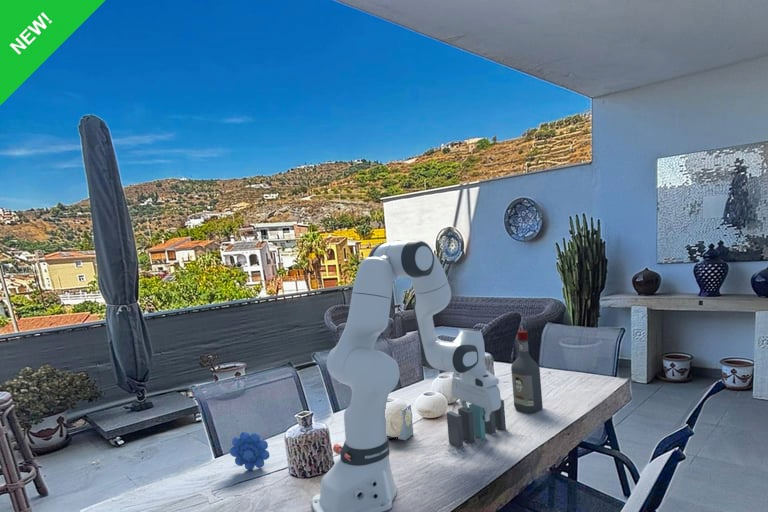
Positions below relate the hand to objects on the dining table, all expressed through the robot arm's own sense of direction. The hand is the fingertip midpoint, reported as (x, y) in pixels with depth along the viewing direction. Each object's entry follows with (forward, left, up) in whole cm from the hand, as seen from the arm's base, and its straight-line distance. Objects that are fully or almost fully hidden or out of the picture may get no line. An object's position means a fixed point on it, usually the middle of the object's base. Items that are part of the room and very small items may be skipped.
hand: (476, 416), depth 138 cm
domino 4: (+5, 0, -7) cm, 8 cm away
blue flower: (-69, +28, -7) cm, 75 cm away
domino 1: (-10, 0, -7) cm, 12 cm away
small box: (-20, +18, -7) cm, 27 cm away
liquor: (+31, +4, -7) cm, 32 cm away
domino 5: (+10, 0, -7) cm, 12 cm away
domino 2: (-5, 0, -7) cm, 8 cm away
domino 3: (0, 0, -7) cm, 7 cm away
